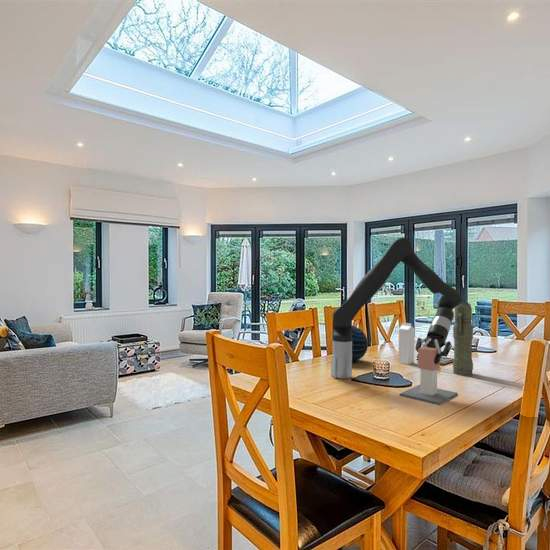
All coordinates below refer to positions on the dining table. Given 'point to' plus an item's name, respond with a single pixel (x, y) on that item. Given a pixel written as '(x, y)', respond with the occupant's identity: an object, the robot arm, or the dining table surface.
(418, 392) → the square base with post
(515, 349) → the dining table surface
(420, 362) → the cap
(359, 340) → the decorative sphere
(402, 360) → the milk
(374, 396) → the dining table surface
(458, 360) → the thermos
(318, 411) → the dining table surface
